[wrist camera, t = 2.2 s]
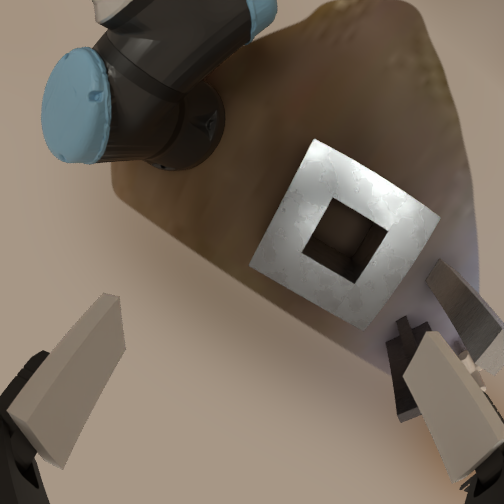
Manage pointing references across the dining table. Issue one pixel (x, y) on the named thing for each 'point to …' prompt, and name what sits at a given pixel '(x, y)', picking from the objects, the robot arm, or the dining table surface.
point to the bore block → (328, 259)
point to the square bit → (469, 317)
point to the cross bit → (404, 365)
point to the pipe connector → (472, 368)
